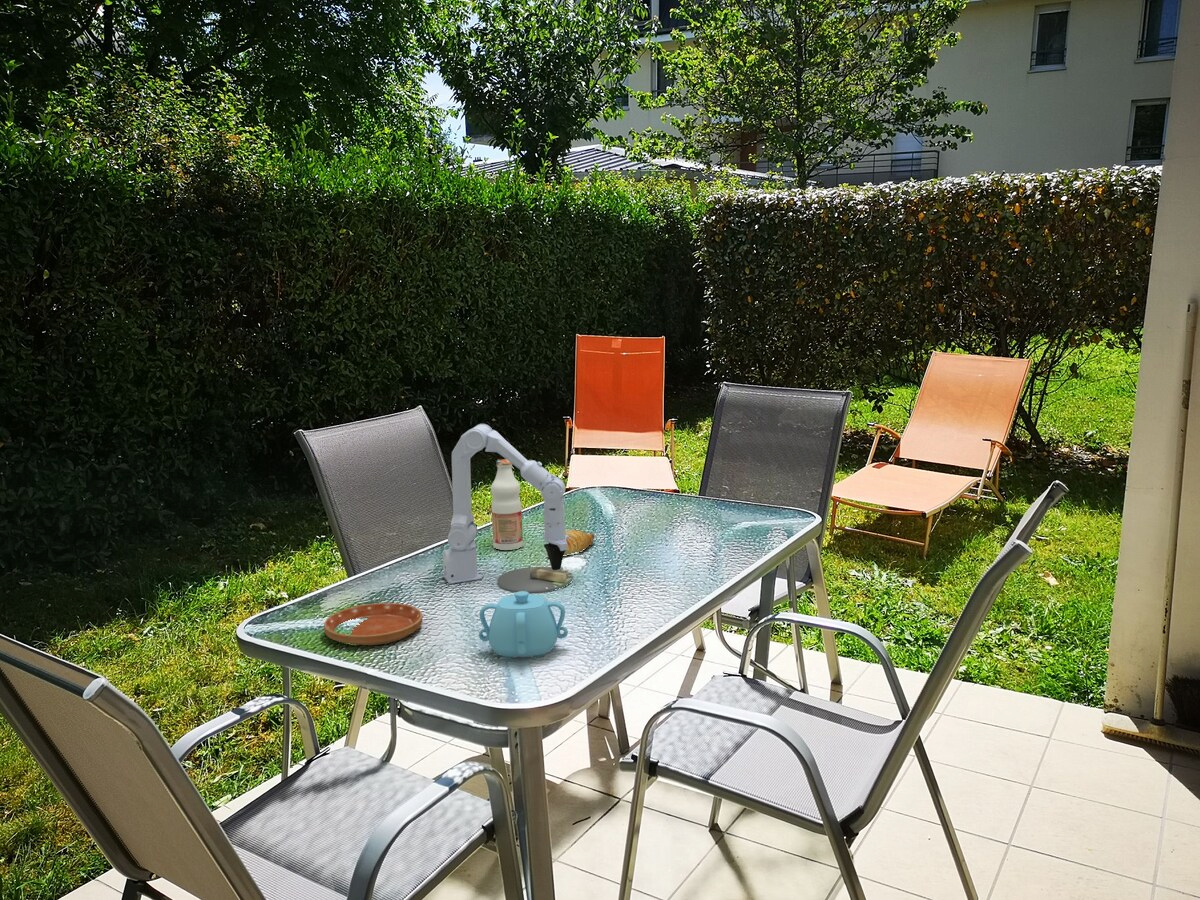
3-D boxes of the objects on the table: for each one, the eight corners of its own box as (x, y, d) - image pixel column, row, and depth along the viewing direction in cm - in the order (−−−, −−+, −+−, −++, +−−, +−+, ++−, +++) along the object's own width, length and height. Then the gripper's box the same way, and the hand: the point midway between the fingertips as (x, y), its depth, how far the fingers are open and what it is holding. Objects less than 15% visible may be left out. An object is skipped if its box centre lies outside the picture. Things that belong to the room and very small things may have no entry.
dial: (510, 597, 239) (509, 594, 239) (488, 575, 258) (488, 572, 258) (584, 586, 247) (583, 583, 247) (557, 565, 266) (557, 562, 266)
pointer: (528, 577, 252) (527, 569, 251) (534, 574, 254) (533, 566, 254) (562, 583, 246) (561, 574, 245) (567, 580, 248) (567, 572, 248)
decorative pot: (532, 631, 215) (530, 576, 213) (574, 650, 203) (572, 592, 201) (474, 650, 205) (471, 592, 203) (514, 671, 193) (511, 610, 190)
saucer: (383, 609, 233) (382, 595, 233) (442, 628, 219) (441, 614, 218) (305, 636, 216) (304, 622, 216) (364, 659, 202) (362, 643, 201)
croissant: (555, 572, 272) (564, 551, 268) (533, 552, 276) (540, 532, 273) (599, 553, 288) (607, 534, 284) (577, 535, 293) (585, 515, 289)
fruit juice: (487, 547, 287) (482, 461, 282) (510, 541, 293) (506, 456, 288) (505, 553, 280) (501, 464, 275) (529, 547, 286) (525, 460, 281)
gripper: (577, 526, 246) (578, 574, 248) (559, 514, 259) (560, 560, 261) (553, 529, 243) (554, 577, 245) (535, 517, 256) (537, 563, 259)
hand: (556, 569), depth 253 cm, fingers closed
